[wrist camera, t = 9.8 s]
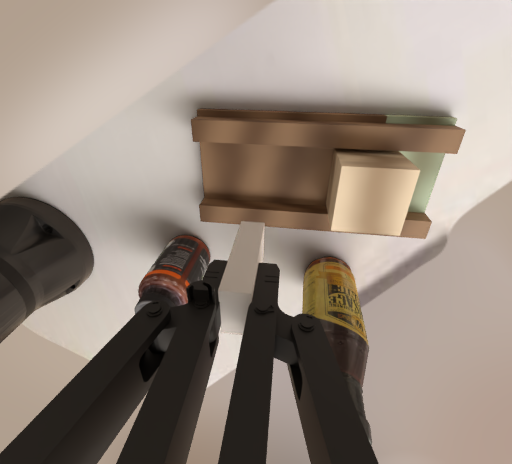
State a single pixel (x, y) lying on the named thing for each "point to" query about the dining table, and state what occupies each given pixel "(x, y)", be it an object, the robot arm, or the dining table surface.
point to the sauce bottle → (339, 322)
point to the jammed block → (370, 191)
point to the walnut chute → (307, 162)
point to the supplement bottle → (174, 272)
